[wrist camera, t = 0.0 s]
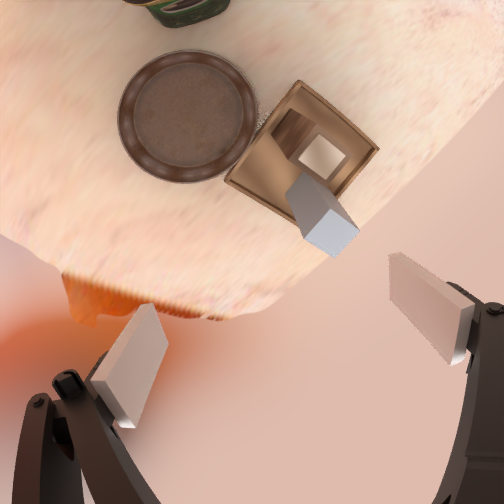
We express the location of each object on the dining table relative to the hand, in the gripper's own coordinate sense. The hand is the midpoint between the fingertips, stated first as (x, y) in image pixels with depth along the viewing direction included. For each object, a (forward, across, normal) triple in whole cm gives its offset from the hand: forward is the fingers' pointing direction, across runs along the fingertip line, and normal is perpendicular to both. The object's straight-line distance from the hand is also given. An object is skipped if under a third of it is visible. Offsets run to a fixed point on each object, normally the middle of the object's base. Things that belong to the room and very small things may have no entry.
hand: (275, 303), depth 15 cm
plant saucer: (+24, -6, +16) cm, 30 cm away
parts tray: (+27, +8, +7) cm, 29 cm away
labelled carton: (+26, +7, +11) cm, 29 cm away
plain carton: (+28, +8, +2) cm, 29 cm away
